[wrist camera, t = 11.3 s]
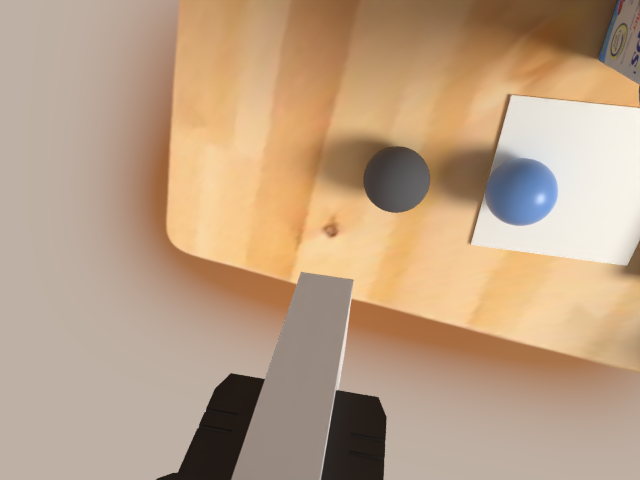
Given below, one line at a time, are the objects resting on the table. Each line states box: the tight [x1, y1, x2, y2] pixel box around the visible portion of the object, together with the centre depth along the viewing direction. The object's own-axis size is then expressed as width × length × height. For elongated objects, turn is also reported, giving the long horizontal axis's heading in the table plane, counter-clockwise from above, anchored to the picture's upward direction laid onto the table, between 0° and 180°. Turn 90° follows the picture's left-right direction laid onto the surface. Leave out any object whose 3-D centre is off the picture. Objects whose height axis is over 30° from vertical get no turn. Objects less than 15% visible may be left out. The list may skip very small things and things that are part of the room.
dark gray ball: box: [364, 147, 430, 213], centre depth 40 cm, size 6×6×6 cm
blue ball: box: [485, 158, 558, 226], centre depth 39 cm, size 6×6×6 cm
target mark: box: [471, 95, 640, 266], centre depth 41 cm, size 14×14×1 cm
